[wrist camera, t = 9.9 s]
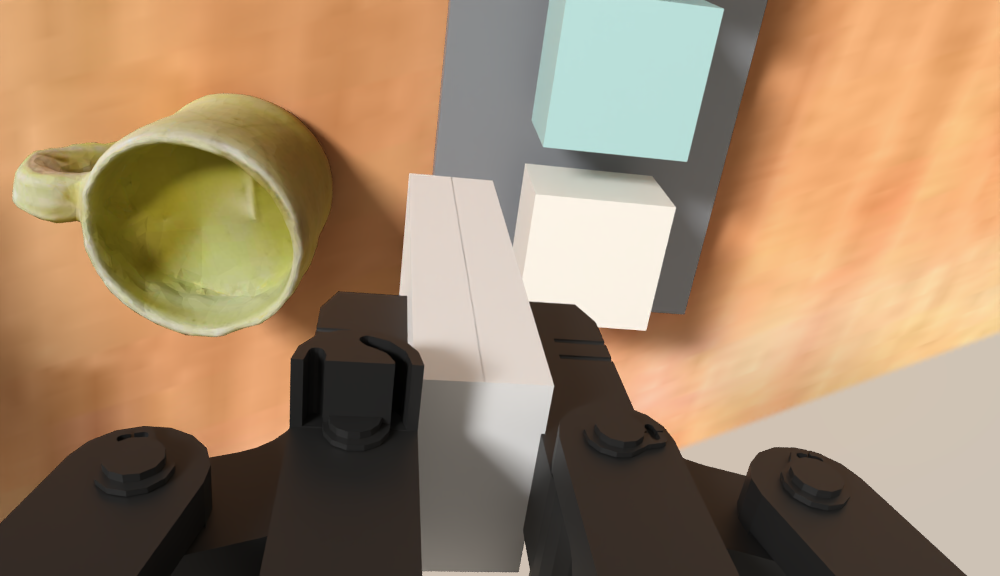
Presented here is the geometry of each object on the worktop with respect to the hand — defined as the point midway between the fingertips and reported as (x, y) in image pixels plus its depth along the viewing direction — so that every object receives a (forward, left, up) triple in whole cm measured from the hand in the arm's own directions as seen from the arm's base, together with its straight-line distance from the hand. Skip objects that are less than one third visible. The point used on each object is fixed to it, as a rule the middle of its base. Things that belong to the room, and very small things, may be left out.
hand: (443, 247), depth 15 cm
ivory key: (+8, -8, -21) cm, 24 cm away
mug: (-10, -8, -25) cm, 28 cm away
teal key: (+8, 0, -21) cm, 22 cm away
